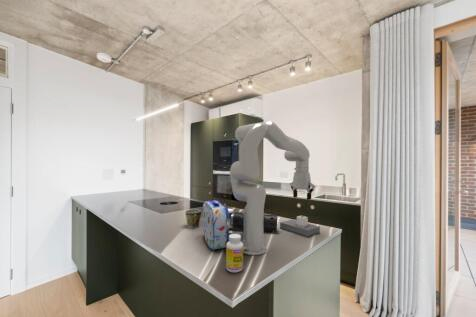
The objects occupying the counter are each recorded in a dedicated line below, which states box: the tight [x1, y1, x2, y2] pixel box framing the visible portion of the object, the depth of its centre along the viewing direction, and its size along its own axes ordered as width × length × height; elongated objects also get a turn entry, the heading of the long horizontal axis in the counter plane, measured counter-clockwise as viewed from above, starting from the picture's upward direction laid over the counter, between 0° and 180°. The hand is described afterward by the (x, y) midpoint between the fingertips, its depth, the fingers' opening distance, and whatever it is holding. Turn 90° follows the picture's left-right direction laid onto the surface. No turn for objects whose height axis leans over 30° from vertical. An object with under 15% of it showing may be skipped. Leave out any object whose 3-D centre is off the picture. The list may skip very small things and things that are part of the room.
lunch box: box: [201, 199, 232, 251], centre depth 110 cm, size 28×10×22 cm, turn 21°
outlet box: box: [279, 218, 321, 238], centre depth 130 cm, size 12×20×4 cm, turn 38°
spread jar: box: [227, 208, 234, 231], centre depth 136 cm, size 12×11×12 cm
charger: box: [296, 215, 309, 227], centre depth 129 cm, size 5×5×8 cm
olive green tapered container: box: [184, 209, 202, 229], centre depth 136 cm, size 13×10×10 cm
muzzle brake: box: [230, 211, 278, 232], centre depth 131 cm, size 10×28×10 cm, turn 79°
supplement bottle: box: [225, 233, 244, 273], centre depth 84 cm, size 7×7×13 cm
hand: (301, 198), depth 129 cm, fingers open, 9 cm apart
